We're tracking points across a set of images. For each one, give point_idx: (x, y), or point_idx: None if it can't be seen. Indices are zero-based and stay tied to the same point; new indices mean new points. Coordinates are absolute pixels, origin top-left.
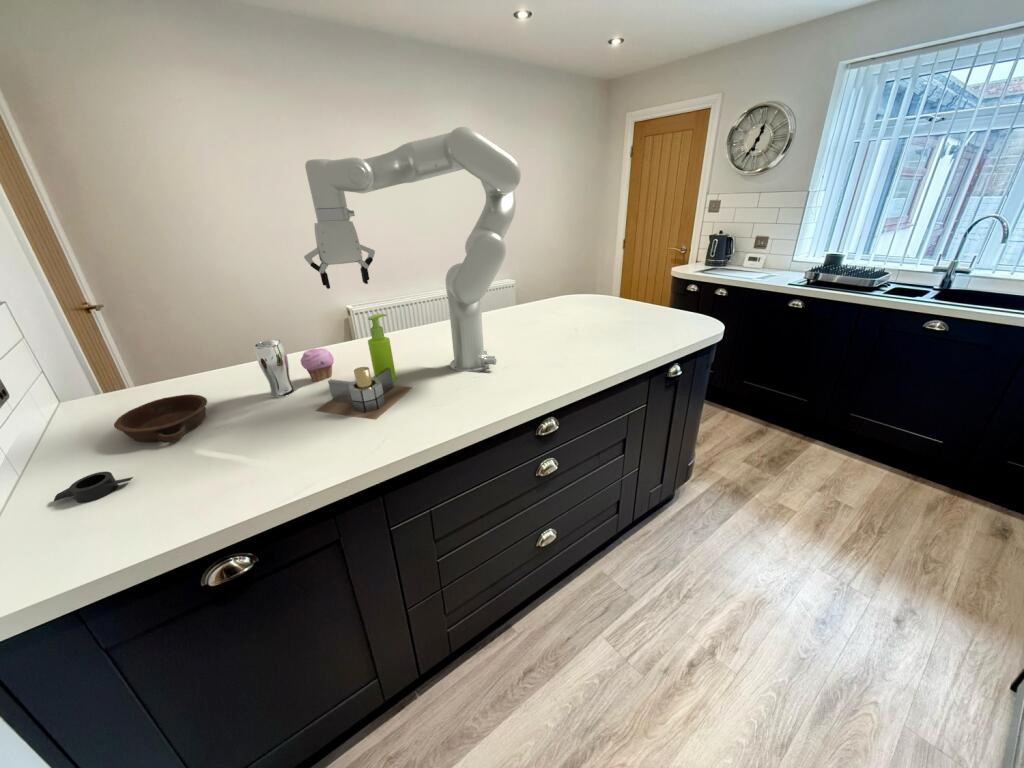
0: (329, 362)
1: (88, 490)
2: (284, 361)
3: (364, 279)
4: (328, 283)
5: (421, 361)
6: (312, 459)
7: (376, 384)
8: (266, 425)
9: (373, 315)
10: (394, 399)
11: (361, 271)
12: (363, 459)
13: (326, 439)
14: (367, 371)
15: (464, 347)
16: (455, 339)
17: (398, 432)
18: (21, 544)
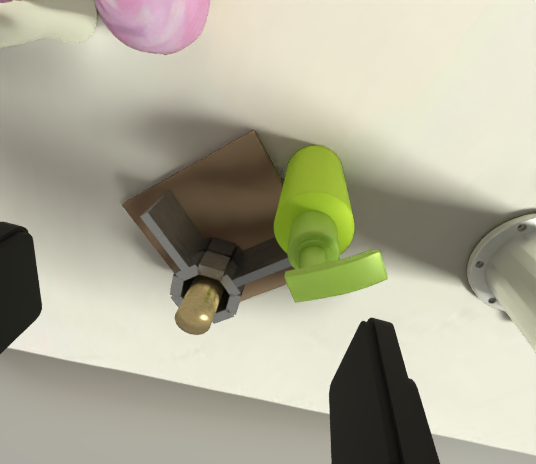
0: (183, 48)
1: None
2: (14, 37)
3: (331, 421)
4: (2, 344)
5: (490, 117)
6: (103, 319)
7: (223, 313)
8: (37, 171)
9: (317, 273)
10: (267, 282)
11: (368, 450)
12: (160, 361)
13: (128, 292)
14: (202, 332)
15: (520, 331)
16: (531, 325)
17: (223, 349)
18: None
